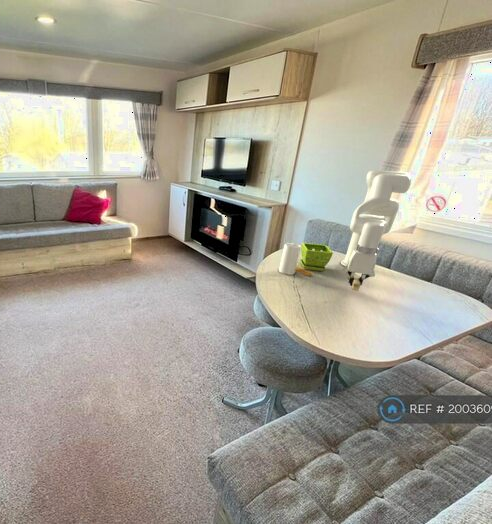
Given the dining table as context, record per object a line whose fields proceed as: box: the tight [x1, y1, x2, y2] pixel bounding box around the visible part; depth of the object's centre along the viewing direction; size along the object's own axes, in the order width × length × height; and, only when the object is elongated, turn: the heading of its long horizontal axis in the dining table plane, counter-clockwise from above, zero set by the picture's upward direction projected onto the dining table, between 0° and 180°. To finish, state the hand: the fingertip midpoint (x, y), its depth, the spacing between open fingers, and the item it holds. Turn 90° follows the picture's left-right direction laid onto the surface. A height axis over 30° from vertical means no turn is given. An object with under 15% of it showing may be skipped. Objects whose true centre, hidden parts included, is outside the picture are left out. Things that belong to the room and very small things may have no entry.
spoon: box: [346, 273, 362, 292], centre depth 150 cm, size 16×5×4 cm, turn 152°
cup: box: [278, 242, 302, 276], centre depth 173 cm, size 8×8×16 cm
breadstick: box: [295, 265, 313, 277], centre depth 176 cm, size 10×2×2 cm, turn 32°
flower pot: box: [299, 242, 333, 272], centre depth 182 cm, size 14×14×13 cm
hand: (354, 285), depth 149 cm, fingers closed on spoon, 2 cm apart
